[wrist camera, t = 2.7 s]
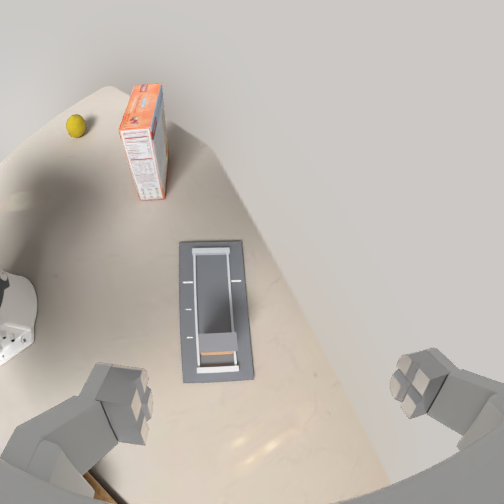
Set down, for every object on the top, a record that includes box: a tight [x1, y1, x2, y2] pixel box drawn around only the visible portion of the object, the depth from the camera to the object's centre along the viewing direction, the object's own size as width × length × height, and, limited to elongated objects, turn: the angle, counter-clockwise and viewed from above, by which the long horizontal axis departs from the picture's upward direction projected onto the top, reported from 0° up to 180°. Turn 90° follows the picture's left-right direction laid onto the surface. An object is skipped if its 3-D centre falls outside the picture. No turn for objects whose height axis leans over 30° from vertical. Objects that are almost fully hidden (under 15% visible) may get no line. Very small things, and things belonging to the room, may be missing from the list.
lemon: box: [66, 114, 86, 138], centre depth 58 cm, size 6×6×8 cm
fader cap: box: [198, 332, 238, 355], centre depth 41 cm, size 3×5×10 cm, turn 95°
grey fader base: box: [179, 241, 254, 383], centre depth 48 cm, size 26×12×2 cm, turn 5°
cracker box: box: [119, 83, 169, 200], centre depth 49 cm, size 14×6×21 cm, turn 5°
